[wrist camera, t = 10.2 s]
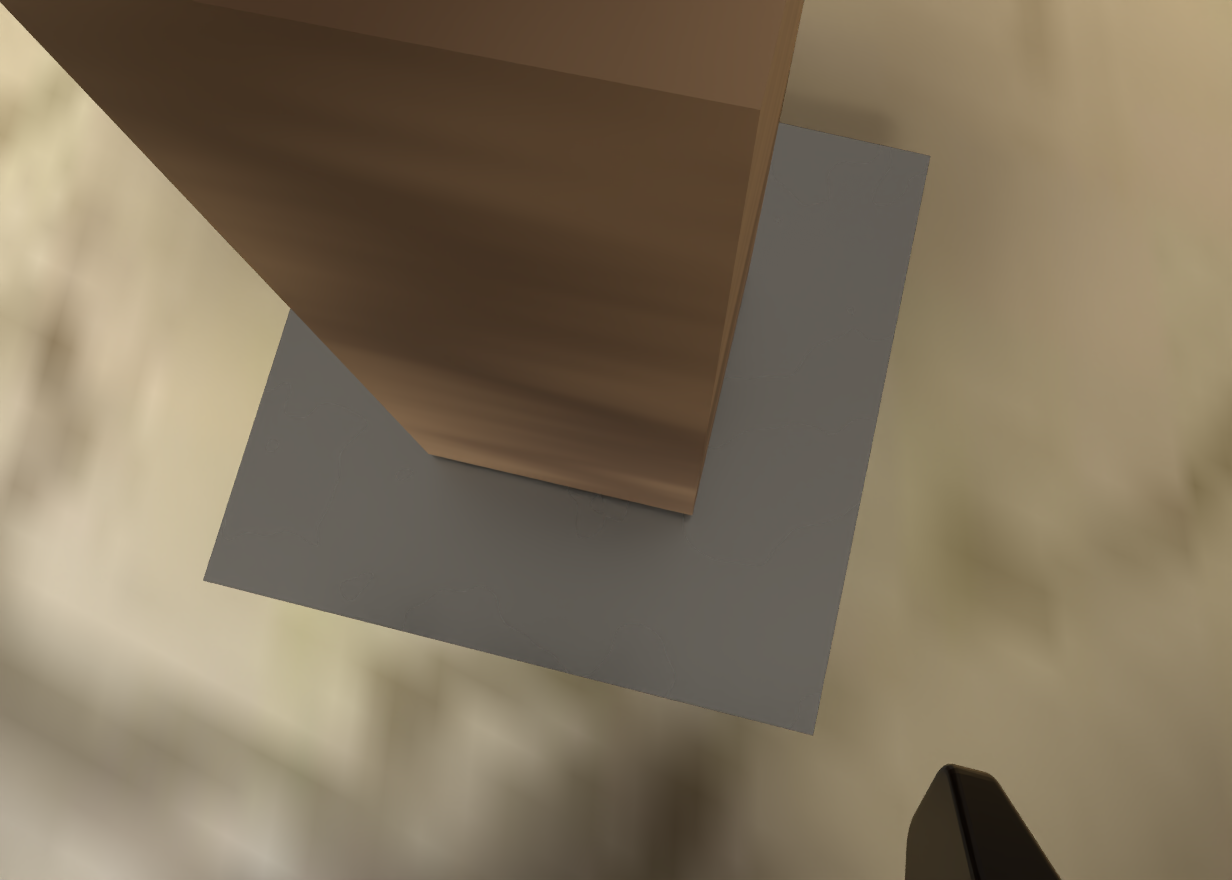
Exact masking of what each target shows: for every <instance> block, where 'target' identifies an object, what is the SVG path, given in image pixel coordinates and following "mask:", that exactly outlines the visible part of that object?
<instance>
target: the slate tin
mask: <svg viewBox="0 0 1232 880" xmlns="http://www.w3.org/2000/svg"><path fill="white" fill-rule="evenodd" d="M929 160H930V156H928V155H923V154H919V153H914V152H910V151H905V150H901V149H896V148H892V147H887V146H883V145H878V144H874V143H869V142H865V141H860V140H856V139H851V138H847V137H842V136H838V135H833V134H829V133H824V132H820V131H815V130H810V129H806V128H801V127H797V126H792V125H788V124H783V123H779V126H778V130H777V135H776V140H775V145H774V150H773V155H772V160H771V165H770V170H769V175H768V179H767V184H766V189H765V194H764V199H763V204H762V209H761V214H760V219H759V224H758V228H757V233H756V238H755V243H754V248H753V253H752V258H751V263H750V267H749V272H748V276H747V280H746V285H745V289H744V293H743V298H742V302H741V306H740V311H739V315H738V319H737V324H736V328H735V332H734V337H733V341H732V345H731V350H730V354H729V358H728V363H727V367H726V371H725V376H724V380H723V385H722V389H721V393H720V398H719V402H718V406H717V411H716V415H715V419H714V424H713V428H712V432H711V437H710V441H709V445H708V450H707V454H706V458H705V463H704V467H703V471H702V476H701V480H700V484H699V489H698V493H697V497H696V502H695V506H694V510H693V515H688V514H683V513H679V512H675V511H671V510H666V509H662V508H658V507H653V506H649V505H645V504H641V503H636V502H632V501H628V500H623V499H619V498H615V497H611V496H606V495H602V494H598V493H593V492H589V491H585V490H581V489H576V488H572V487H568V486H564V485H559V484H555V483H551V482H546V481H542V480H538V479H534V478H529V477H525V476H521V475H516V474H512V473H508V472H504V471H499V470H495V469H491V468H487V467H482V466H478V465H474V464H469V463H465V462H461V461H457V460H452V459H448V458H444V457H439V456H435V455H431V454H428V453H427V452H426V451H425V450H424V449H423V448H422V447H421V445H420V444H419V443H418V442H417V441H416V440H415V439H414V438H413V437H412V436H411V435H410V434H409V433H408V432H407V431H406V430H405V429H404V428H403V426H402V425H401V424H400V423H399V422H398V421H397V420H396V419H395V418H394V417H393V416H392V415H391V414H390V413H389V412H388V411H387V410H386V409H385V407H384V406H383V405H382V404H381V403H380V402H379V401H378V400H377V399H376V398H375V397H374V396H373V395H372V394H371V393H370V392H369V391H368V390H367V388H366V387H365V386H364V385H363V384H362V383H361V382H360V381H359V380H358V379H357V378H356V377H355V376H354V375H353V374H352V373H351V372H350V371H349V369H348V368H347V367H346V366H345V365H344V364H343V363H342V362H341V361H340V360H339V359H338V358H337V357H336V356H335V355H334V354H333V353H332V352H331V351H330V349H329V348H328V347H327V346H326V345H325V344H324V343H323V342H322V341H321V340H320V339H319V338H318V337H317V336H316V335H315V334H314V333H313V332H312V330H311V329H310V328H309V327H308V326H307V325H306V324H305V323H304V322H303V321H302V320H301V319H300V318H299V317H298V316H297V315H296V314H295V313H294V311H293V310H292V309H290V312H289V315H288V318H287V321H286V324H285V327H284V330H283V333H282V337H281V340H280V343H279V346H278V349H277V352H276V355H275V358H274V361H273V365H272V368H271V371H270V374H269V377H268V380H267V383H266V386H265V389H264V392H263V396H262V399H261V402H260V405H259V408H258V411H257V414H256V417H255V420H254V424H253V427H252V430H251V433H250V436H249V439H248V442H247V445H246V448H245V452H244V455H243V458H242V461H241V464H240V467H239V470H238V473H237V476H236V480H235V483H234V486H233V489H232V492H231V495H230V498H229V501H228V504H227V508H226V511H225V514H224V517H223V520H222V523H221V526H220V529H219V532H218V536H217V539H216V542H215V545H214V548H213V551H212V554H211V557H210V560H209V564H208V567H207V570H206V573H205V576H204V579H203V581H207V582H211V583H215V584H219V585H223V586H227V587H231V588H235V589H239V590H243V591H246V592H250V593H254V594H258V595H262V596H266V597H270V598H274V599H278V600H282V601H286V602H290V603H294V604H298V605H302V606H305V607H309V608H313V609H317V610H321V611H325V612H329V613H333V614H337V615H341V616H345V617H349V618H353V619H357V620H361V621H364V622H368V623H372V624H376V625H380V626H384V627H388V628H392V629H396V630H400V631H404V632H408V633H412V634H416V635H420V636H423V637H427V638H431V639H435V640H439V641H443V642H447V643H451V644H455V645H459V646H463V647H467V648H471V649H475V650H479V651H483V652H486V653H490V654H494V655H498V656H502V657H506V658H510V659H514V660H518V661H522V662H526V663H530V664H534V665H538V666H542V667H545V668H549V669H553V670H557V671H561V672H565V673H569V674H573V675H577V676H581V677H585V678H589V679H593V680H597V681H601V682H604V683H608V684H612V685H616V686H620V687H624V688H628V689H632V690H636V691H640V692H644V693H648V694H652V695H656V696H660V697H663V698H667V699H671V700H675V701H679V702H683V703H687V704H691V705H695V706H699V707H703V708H707V709H711V710H715V711H719V712H722V713H726V714H730V715H734V716H738V717H742V718H746V719H750V720H754V721H758V722H762V723H766V724H770V725H774V726H778V727H782V728H785V729H789V730H793V731H797V732H801V733H805V734H809V735H813V733H814V728H815V723H816V718H817V713H818V708H819V703H820V698H821V693H822V688H823V683H824V678H825V673H826V668H827V664H828V659H829V654H830V649H831V644H832V639H833V634H834V629H835V624H836V619H837V614H838V609H839V604H840V599H841V594H842V589H843V585H844V580H845V575H846V570H847V565H848V560H849V555H850V550H851V545H852V540H853V535H854V530H855V525H856V520H857V515H858V510H859V506H860V501H861V496H862V491H863V486H864V481H865V476H866V471H867V466H868V461H869V456H870V451H871V446H872V441H873V436H874V431H875V427H876V422H877V417H878V412H879V407H880V402H881V397H882V392H883V387H884V382H885V377H886V372H887V367H888V362H889V357H890V352H891V348H892V343H893V338H894V333H895V328H896V323H897V318H898V313H899V308H900V303H901V298H902V293H903V288H904V283H905V278H906V273H907V269H908V264H909V259H910V254H911V249H912V244H913V239H914V234H915V229H916V224H917V219H918V214H919V209H920V204H921V199H922V194H923V190H924V185H925V180H926V175H927V170H928V165H929Z"/></svg>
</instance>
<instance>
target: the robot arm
mask: <svg viewBox="0 0 1232 880" xmlns="http://www.w3.org/2000/svg"><path fill="white" fill-rule="evenodd" d="M905 880H1061V878H1060V877H1059V875H1058V874H1057V872H1056V871H1055V869H1054V868H1053V866H1052V865H1051V863H1050V861H1049V860H1048V858H1047V857H1046V855H1045V854H1044V852H1043V851H1042V849H1041V847H1040V846H1039V844H1038V843H1037V841H1036V840H1035V838H1034V837H1033V835H1032V834H1031V832H1030V830H1029V829H1028V827H1027V826H1026V824H1025V823H1024V821H1023V820H1022V818H1021V817H1020V815H1019V813H1018V812H1017V810H1016V809H1015V807H1014V806H1013V804H1012V803H1011V801H1010V800H1009V798H1008V796H1007V795H1006V793H1005V792H1004V790H1003V789H1002V787H1001V786H1000V784H999V783H998V781H997V780H996V779H995V778H994V777H993V776H992V775H990V774H988V773H986V772H983V771H979V770H975V769H971V768H967V767H963V766H959V765H955V764H947V765H944V766H943V767H942V768H941V769H940V770H939V771H938V773H937V774H936V776H935V778H934V780H933V782H932V783H931V785H930V787H929V789H928V791H927V792H926V794H925V796H924V798H923V800H922V802H921V803H920V805H919V807H918V809H917V811H916V812H915V814H914V816H913V818H912V821H911V824H910V828H909V832H908V838H907V848H906V869H905Z"/></svg>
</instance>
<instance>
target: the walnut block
mask: <svg viewBox="0 0 1232 880" xmlns="http://www.w3.org/2000/svg"><path fill="white" fill-rule="evenodd" d="M0 2H1V3H2V4H3V5H4V6H5V8H6V9H7V10H8V11H9V12H10V13H11V14H12V15H13V16H14V17H15V18H16V19H17V20H18V21H19V22H20V23H21V24H22V25H23V27H24V28H25V29H26V30H27V31H28V32H29V33H30V34H31V35H32V36H33V37H34V38H35V39H36V40H37V41H38V42H39V43H40V44H41V45H42V47H43V48H44V49H45V50H46V51H47V52H48V53H49V54H50V55H51V56H52V57H53V58H54V59H55V60H56V61H57V62H58V63H59V64H60V66H61V67H62V68H63V69H64V70H65V71H66V72H67V73H68V74H69V75H70V76H71V77H72V78H73V79H74V80H75V81H76V82H77V83H78V85H79V86H80V87H81V88H82V89H83V90H84V91H85V92H86V93H87V94H88V95H89V96H90V97H91V98H92V99H93V100H94V101H95V102H96V104H97V105H98V106H99V107H100V108H101V109H102V110H103V111H104V112H105V113H106V114H107V115H108V116H109V117H110V118H111V119H112V120H113V121H114V123H115V124H116V125H117V126H118V127H119V128H120V129H121V130H122V131H123V132H124V133H125V134H126V135H127V136H128V137H129V138H130V139H131V140H132V142H133V143H134V144H135V145H136V146H137V147H138V148H139V149H140V150H141V151H142V152H143V153H144V154H145V155H146V156H147V157H148V158H149V159H150V161H151V162H152V163H153V164H154V165H155V166H156V167H157V168H158V169H159V170H160V171H161V172H162V173H163V174H164V175H165V176H166V177H167V178H168V180H169V181H170V182H171V183H172V184H173V185H174V186H175V187H176V188H177V189H178V190H179V191H180V192H181V193H182V194H183V195H184V196H185V197H186V199H187V200H188V201H189V202H190V203H191V204H192V205H193V206H194V207H195V208H196V209H197V210H198V211H199V212H200V213H201V214H202V215H203V216H204V218H205V219H206V220H207V221H208V222H209V223H210V224H211V225H212V226H213V227H214V228H215V229H216V230H217V231H218V232H219V233H220V234H221V235H222V237H223V238H224V239H225V240H226V241H227V242H228V243H229V244H230V245H231V246H232V247H233V248H234V249H235V250H236V251H237V252H238V253H239V254H240V256H241V257H242V258H243V259H244V260H245V261H246V262H247V263H248V264H249V265H250V266H251V267H252V268H253V269H254V270H255V271H256V272H257V273H258V275H259V276H260V277H261V278H262V279H263V280H264V281H265V282H266V283H267V284H268V285H269V286H270V287H271V288H272V289H273V290H274V291H275V292H276V294H277V295H278V296H279V297H280V298H281V299H282V300H283V301H284V302H285V303H286V304H287V305H288V306H289V307H290V308H291V309H292V310H293V311H294V313H295V314H296V315H297V316H298V317H299V318H300V319H301V320H302V321H303V322H304V323H305V324H306V325H307V326H308V327H309V328H310V329H311V330H312V332H313V333H314V334H315V335H316V336H317V337H318V338H319V339H320V340H321V341H322V342H323V343H324V344H325V345H326V346H327V347H328V348H329V349H330V351H331V352H332V353H333V354H334V355H335V356H336V357H337V358H338V359H339V360H340V361H341V362H342V363H343V364H344V365H345V366H346V367H347V368H348V369H349V371H350V372H351V373H352V374H353V375H354V376H355V377H356V378H357V379H358V380H359V381H360V382H361V383H362V384H363V385H364V386H365V387H366V388H367V390H368V391H369V392H370V393H371V394H372V395H373V396H374V397H375V398H376V399H377V400H378V401H379V402H380V403H381V404H382V405H383V406H384V407H385V409H386V410H387V411H388V412H389V413H390V414H391V415H392V416H393V417H394V418H395V419H396V420H397V421H398V422H399V423H400V424H401V425H402V426H403V428H404V429H405V430H406V431H407V432H408V433H409V434H410V435H411V436H412V437H413V438H414V439H415V440H416V441H417V442H418V443H419V444H420V445H421V447H422V448H423V449H424V450H425V451H426V452H427V453H428V454H431V455H435V456H439V457H444V458H448V459H452V460H457V461H461V462H465V463H469V464H474V465H478V466H482V467H487V468H491V469H495V470H499V471H504V472H508V473H512V474H516V475H521V476H525V477H529V478H534V479H538V480H542V481H546V482H551V483H555V484H559V485H564V486H568V487H572V488H576V489H581V490H585V491H589V492H593V493H598V494H602V495H606V496H611V497H615V498H619V499H623V500H628V501H632V502H636V503H641V504H645V505H649V506H653V507H658V508H662V509H666V510H671V511H675V512H679V513H683V514H688V515H693V510H694V506H695V502H696V497H697V493H698V489H699V484H700V480H701V476H702V471H703V467H704V463H705V458H706V454H707V450H708V445H709V441H710V437H711V432H712V428H713V424H714V419H715V415H716V411H717V406H718V402H719V398H720V393H721V389H722V385H723V380H724V376H725V371H726V367H727V363H728V358H729V354H730V350H731V345H732V341H733V337H734V332H735V328H736V324H737V319H738V315H739V311H740V306H741V302H742V298H743V293H744V289H745V285H746V280H747V276H748V272H749V267H750V263H751V258H752V253H753V248H754V243H755V238H756V233H757V228H758V224H759V219H760V214H761V209H762V204H763V199H764V194H765V189H766V184H767V179H768V175H769V170H770V165H771V160H772V155H773V150H774V145H775V140H776V135H777V130H778V126H779V121H780V116H781V111H782V106H783V101H784V96H785V91H786V86H787V81H788V77H789V72H790V67H791V62H792V57H793V52H794V47H795V42H796V37H797V32H798V28H799V23H800V18H801V13H802V8H803V3H804V0H0Z"/></svg>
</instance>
